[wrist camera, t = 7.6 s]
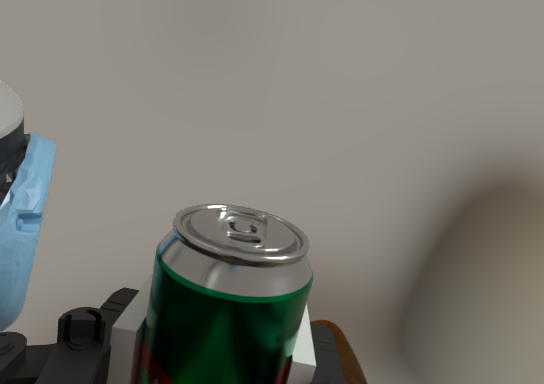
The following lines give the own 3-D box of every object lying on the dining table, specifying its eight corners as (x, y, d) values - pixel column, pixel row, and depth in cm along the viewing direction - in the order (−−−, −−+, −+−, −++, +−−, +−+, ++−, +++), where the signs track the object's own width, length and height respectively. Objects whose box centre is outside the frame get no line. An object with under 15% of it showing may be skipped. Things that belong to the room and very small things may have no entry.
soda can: (244, 443, 16) (301, 212, 13) (253, 588, 11) (345, 275, 9) (135, 439, 15) (174, 191, 13) (95, 596, 10) (143, 248, 8)
